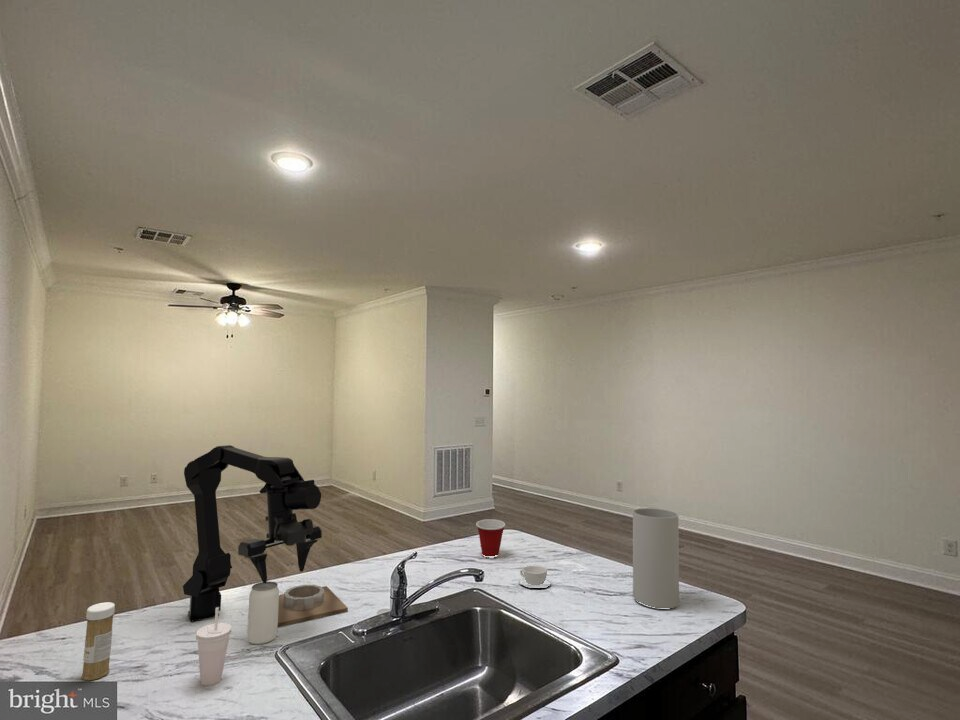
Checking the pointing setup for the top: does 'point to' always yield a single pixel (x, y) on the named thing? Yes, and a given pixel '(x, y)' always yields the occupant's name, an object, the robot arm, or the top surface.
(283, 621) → the base plate
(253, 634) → the can
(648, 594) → the cylinder vase
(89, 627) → the sprinkles bottle
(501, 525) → the plastic cup
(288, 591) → the ring collar
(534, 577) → the teacup
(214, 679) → the smoothie
